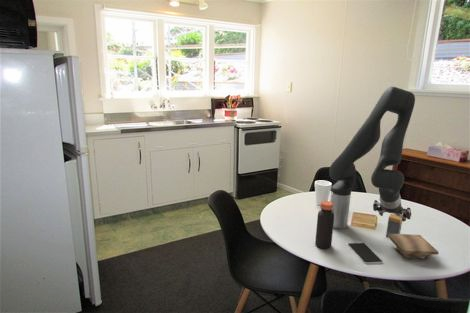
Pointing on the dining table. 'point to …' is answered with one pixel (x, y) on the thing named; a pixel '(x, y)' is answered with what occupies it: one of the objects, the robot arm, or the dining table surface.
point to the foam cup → (322, 191)
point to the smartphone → (365, 253)
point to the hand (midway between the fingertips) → (392, 216)
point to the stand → (412, 245)
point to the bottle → (325, 225)
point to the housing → (394, 224)
